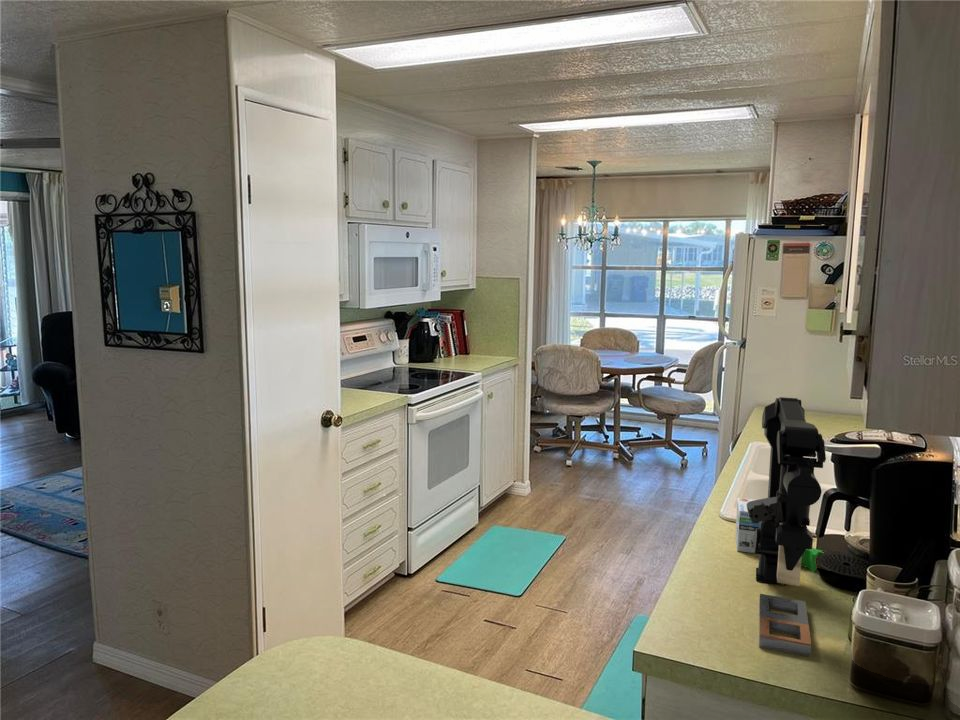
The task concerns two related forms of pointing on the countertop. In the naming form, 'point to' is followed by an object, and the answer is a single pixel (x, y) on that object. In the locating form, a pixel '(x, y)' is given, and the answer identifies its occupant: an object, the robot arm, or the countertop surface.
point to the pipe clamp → (810, 558)
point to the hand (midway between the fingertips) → (788, 565)
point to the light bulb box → (744, 527)
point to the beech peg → (783, 573)
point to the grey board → (784, 625)
